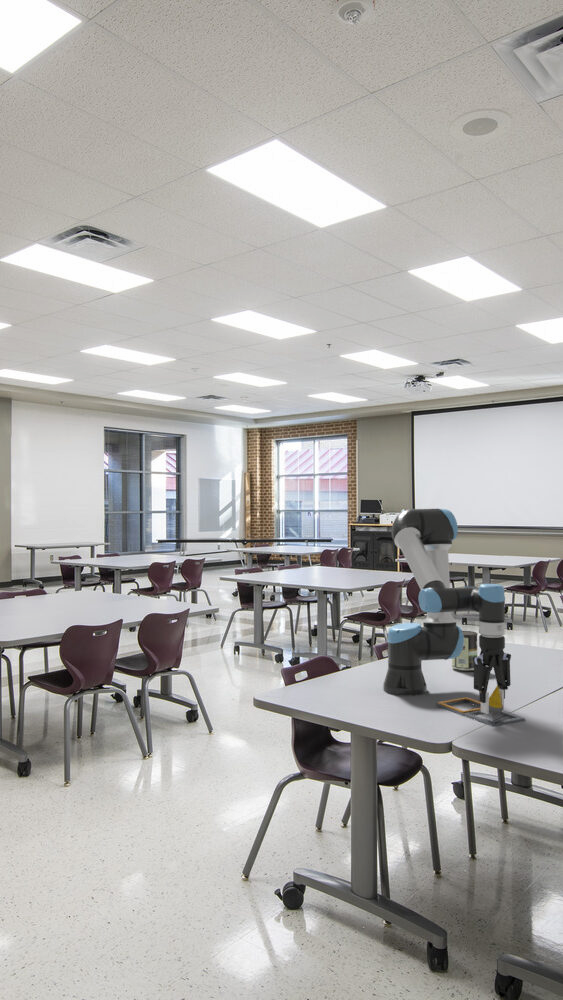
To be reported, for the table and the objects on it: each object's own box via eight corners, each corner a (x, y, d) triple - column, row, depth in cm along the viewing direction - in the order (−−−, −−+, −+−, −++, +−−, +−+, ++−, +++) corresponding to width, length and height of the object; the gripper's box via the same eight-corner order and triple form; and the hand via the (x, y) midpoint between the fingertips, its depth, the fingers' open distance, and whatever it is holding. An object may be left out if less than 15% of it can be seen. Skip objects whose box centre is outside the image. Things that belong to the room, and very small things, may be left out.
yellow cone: (487, 709, 210) (492, 679, 208) (503, 716, 206) (509, 686, 205) (480, 714, 206) (485, 684, 204) (497, 722, 202) (503, 691, 201)
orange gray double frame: (436, 706, 219) (436, 702, 219) (466, 700, 225) (466, 696, 225) (492, 727, 197) (492, 723, 197) (524, 721, 203) (524, 717, 203)
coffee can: (474, 664, 278) (473, 630, 278) (480, 670, 268) (480, 634, 268) (448, 664, 278) (448, 630, 278) (454, 670, 268) (454, 634, 268)
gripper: (477, 640, 199) (478, 719, 199) (523, 634, 207) (523, 710, 207) (460, 635, 205) (460, 712, 205) (505, 630, 214) (505, 704, 214)
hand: (492, 711), depth 206 cm, fingers closed on yellow cone, 5 cm apart
